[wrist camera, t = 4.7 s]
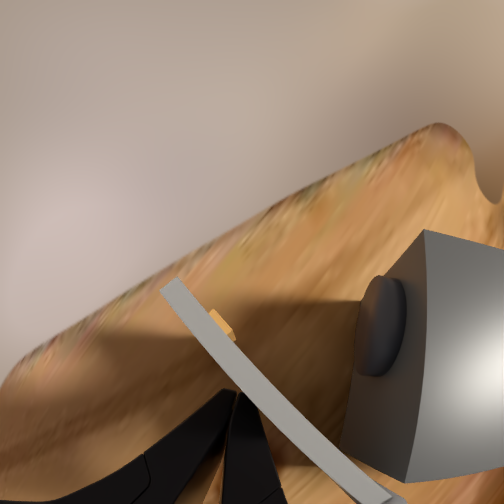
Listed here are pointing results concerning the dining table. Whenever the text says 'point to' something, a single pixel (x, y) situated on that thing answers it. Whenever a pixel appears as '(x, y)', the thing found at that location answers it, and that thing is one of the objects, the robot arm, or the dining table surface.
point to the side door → (273, 398)
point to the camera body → (430, 364)
